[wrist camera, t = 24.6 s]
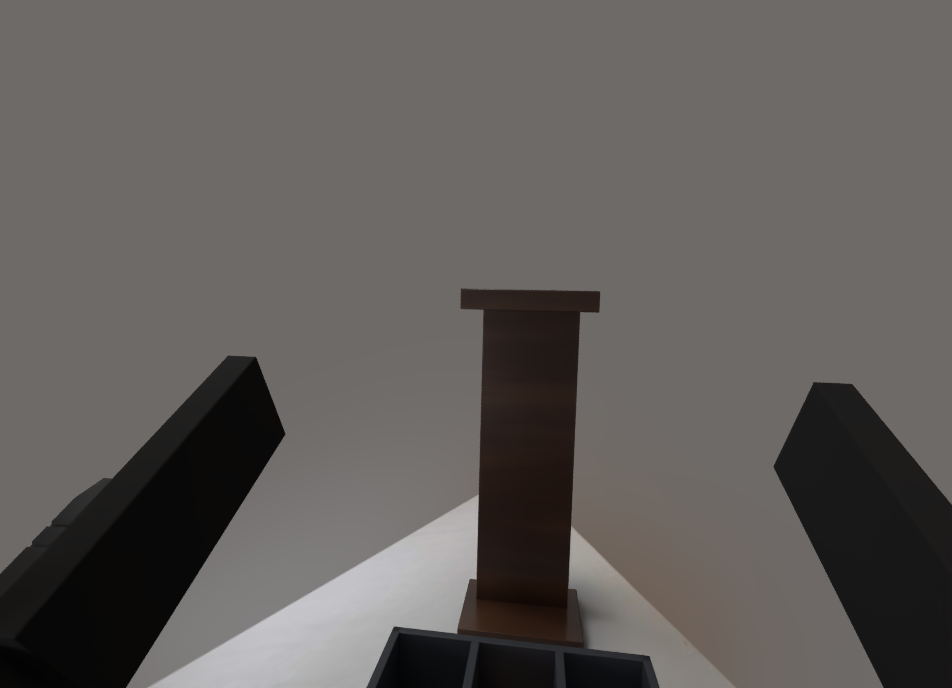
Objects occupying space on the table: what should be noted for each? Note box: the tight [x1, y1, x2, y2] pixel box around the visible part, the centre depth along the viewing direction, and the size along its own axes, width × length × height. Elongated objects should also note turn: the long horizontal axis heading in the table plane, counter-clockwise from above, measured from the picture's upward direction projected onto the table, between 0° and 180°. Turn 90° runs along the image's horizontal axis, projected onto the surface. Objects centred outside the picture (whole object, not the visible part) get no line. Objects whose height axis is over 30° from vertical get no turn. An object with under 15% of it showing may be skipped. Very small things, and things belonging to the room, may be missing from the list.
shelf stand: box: [457, 289, 600, 648], centre depth 36 cm, size 15×10×28 cm, turn 173°
